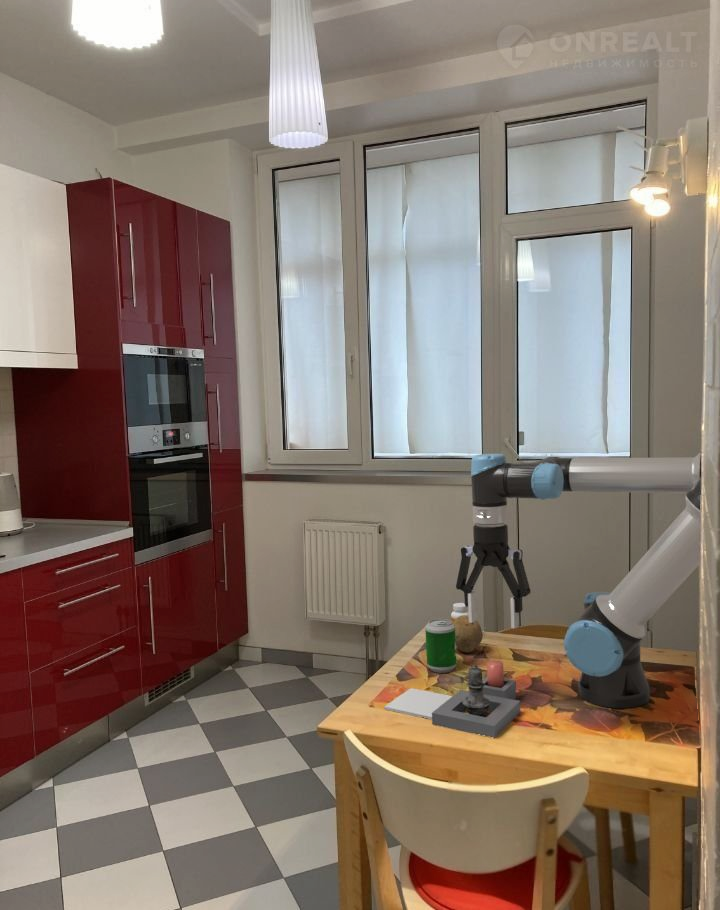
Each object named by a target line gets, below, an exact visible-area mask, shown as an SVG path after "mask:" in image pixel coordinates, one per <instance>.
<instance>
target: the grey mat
mask: <svg viewBox="0 0 720 910" xmlns="http://www.w3.org/2000/svg"><path fill="white" fill-rule="evenodd" d="M452 696H453V695H447V694H442V693H437V692H432V691H429V690H424V689H423V690H422V689H418V688H417V689H416V688H414V687H411V688H409V689H408V690H406V691H405V692H403V693H401V695H399V696H397V697H395V698H394V699H393V700H392V701H390V702H389V703H387V704H386V705H385V706H384V707H383V709H384V710H386V711H389V712H390V711H391V712H394V713H400V714H404V715H409V716H412V715H413V716H414V717H417V716H420V717H419V718H422V717H424V718H423V719H426V718H428V719H427V720H431V721H432V712H433V711H435V710H436V709H437V708H438V707H440V706H441V705H442V704H444V703H445V702H446V701H447V700H449V699H450V698H451V697H452Z"/></svg>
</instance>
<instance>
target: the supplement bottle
mask: <svg viewBox="0 0 720 910" xmlns="http://www.w3.org/2000/svg"><path fill="white" fill-rule="evenodd" d="M452 609H453V610H452V612H451V614H450V621H451V622H452V623H453V621H454V620H455V619H456V618H457V617H459V616H462V615H467V616H469V613H468V607H466V606H465V602H456V603H455V602H454V603H453V604H452Z"/></svg>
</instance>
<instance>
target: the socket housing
mask: <svg viewBox="0 0 720 910" xmlns="http://www.w3.org/2000/svg"><path fill="white" fill-rule="evenodd" d="M482 683H484V686H483V695H484V698H487V699H488V700H489V701H490V705H489V708H488V711H487V712H486V713H489V714H488V716H487V717H481V716H477V715H472V714H468V713H467V712H465V711H466V710H465V708H464V705H463V703H462V701H463V700H464V699H465V698H468V696H469V690H464V689H460V690H459V691H457V692H456V693H455V694H453V695H451V696H452V697H451V698H450V699H449V700H447V701H446V702H445V703H444V704H442V705H441V706H440V707H438V708H437V709H436V710H435V711H433V712H432V720H431V725H433V726H437V725H438V727H442V726H443V727H442V728H446V727H447V729H452V730H455V729H456V731H459V732H465V733H469V734H473V733H475V734H474V735H478V734H480V735H479V736H482V735H485V736H484V737H487V736H490V737H489V738H491V737H494V738H493V739H496V738H497V736H499V735H500V734H501V732H502V731H503V730H504V729H505V728H507V726H509V725H510V724H511V723H512V722H513V720H515V718H516V717H517V716H519V714H521V701H520V700H518V699H517V681H516V680H514V679H508V678H504V686H503V687H502V688H497V687H492V686H488V679H487V676H486V677H485V678H482Z"/></svg>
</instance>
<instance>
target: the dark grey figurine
mask: <svg viewBox="0 0 720 910" xmlns="http://www.w3.org/2000/svg"><path fill="white" fill-rule="evenodd" d="M467 671H468V682H467V684H466V686H467V687H468V691H469V696H468V698H465V699H464V700H463V701H462V703H463V705H464V708H465V711H466V712H465V713H467V714H472V715H477V716H481V717H487V716H489V714H486V713H488V712H487V711H488V708H489V705H490V701H489V700H488V699H487V698H484V695H483V686H484V683H482V680H483V672H482V669H481V668H480V667H479V666H477V663H476V662H475V663H473V666H472V667H470V668H469V669H468V670H467Z"/></svg>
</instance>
